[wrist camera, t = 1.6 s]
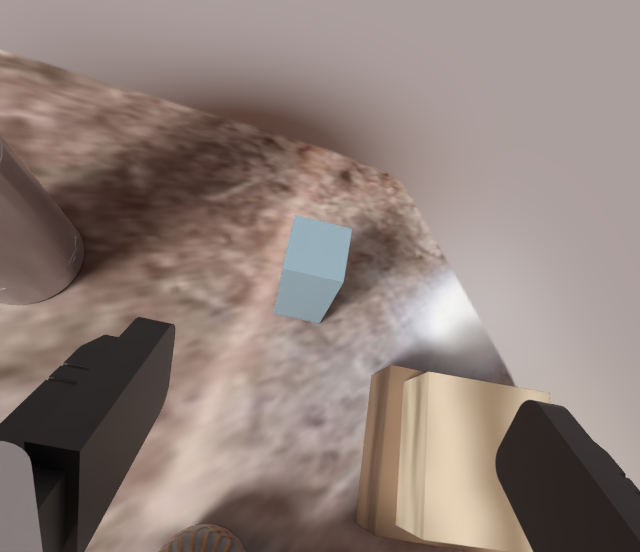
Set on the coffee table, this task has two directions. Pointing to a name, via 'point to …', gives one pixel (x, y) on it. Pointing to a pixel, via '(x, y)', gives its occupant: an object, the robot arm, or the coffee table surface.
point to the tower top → (457, 461)
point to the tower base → (387, 459)
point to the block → (312, 269)
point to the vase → (204, 540)
